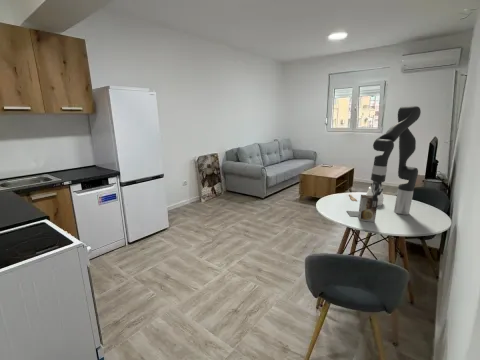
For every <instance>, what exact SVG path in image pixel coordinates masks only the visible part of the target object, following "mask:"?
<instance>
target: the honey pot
mask: <svg viewBox="0 0 480 360" xmlns="http://www.w3.org/2000/svg"><path fill="white" fill-rule="evenodd" d="M381 189H383V188H382V187H381ZM365 195H373V193H372V190H371V186H369V187H368V190H367V192H366V194H365ZM384 197H385V196H384V193H383V191H382V192H381V194H380V195H378V197H377V198H378V203H377V206H383V205H382V204H384Z"/></svg>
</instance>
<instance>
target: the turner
mask: <svg viewBox="0 0 480 360" xmlns="http://www.w3.org/2000/svg"><path fill="white" fill-rule="evenodd" d="M348 197H349V199H350V200H351V202H358V200H357V198H356V197H354V196H353V195H352V194H348Z"/></svg>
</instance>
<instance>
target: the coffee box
mask: <svg viewBox="0 0 480 360" xmlns="http://www.w3.org/2000/svg"><path fill="white" fill-rule="evenodd" d="M372 198H373V195H366V194H360V200H359V207H358V209H359V210H358V212H359V214H358V217H357V219H358V220H359V221H360V222H371V223H375V222H376V215H377V210H378V205H377V203H378V198H377V201H373V200H372Z"/></svg>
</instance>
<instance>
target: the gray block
mask: <svg viewBox="0 0 480 360" xmlns="http://www.w3.org/2000/svg"><path fill="white" fill-rule="evenodd" d="M346 213H347V214H348V216H349V217H354V218H358V214H359V210H358V211H355V210H346Z"/></svg>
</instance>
